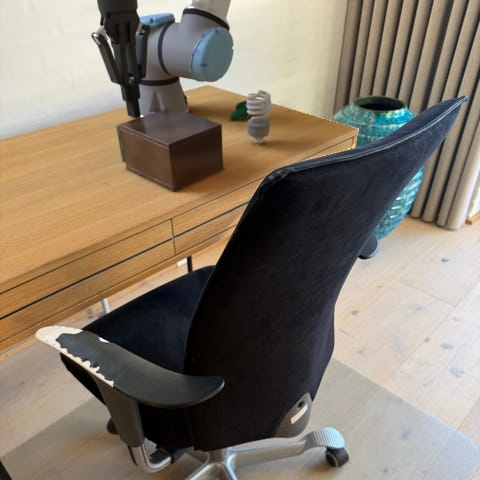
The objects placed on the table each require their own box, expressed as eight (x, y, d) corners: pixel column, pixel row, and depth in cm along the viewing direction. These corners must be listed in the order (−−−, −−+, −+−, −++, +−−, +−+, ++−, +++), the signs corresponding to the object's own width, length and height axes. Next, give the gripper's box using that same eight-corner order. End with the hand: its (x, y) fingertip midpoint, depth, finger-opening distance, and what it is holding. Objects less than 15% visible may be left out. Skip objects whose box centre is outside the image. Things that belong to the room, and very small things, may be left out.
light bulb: (259, 137, 117) (260, 85, 109) (274, 144, 114) (276, 91, 106) (241, 143, 115) (241, 90, 107) (256, 150, 111) (257, 96, 103)
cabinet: (126, 169, 104) (118, 124, 98) (176, 150, 112) (171, 106, 105) (173, 192, 96) (168, 144, 90) (223, 169, 104) (221, 124, 97)
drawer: (109, 155, 108) (102, 119, 102) (154, 139, 115) (149, 104, 109) (164, 181, 98) (160, 143, 92) (210, 161, 105) (208, 125, 99)
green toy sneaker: (237, 128, 127) (253, 113, 124) (227, 117, 126) (243, 101, 122) (244, 116, 134) (259, 101, 130) (235, 105, 132) (250, 90, 129)
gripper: (96, -9, 83) (120, 127, 99) (155, -16, 90) (168, 112, 106) (73, -13, 87) (99, 119, 103) (131, -20, 94) (147, 105, 110)
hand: (134, 115), depth 104 cm, fingers closed
